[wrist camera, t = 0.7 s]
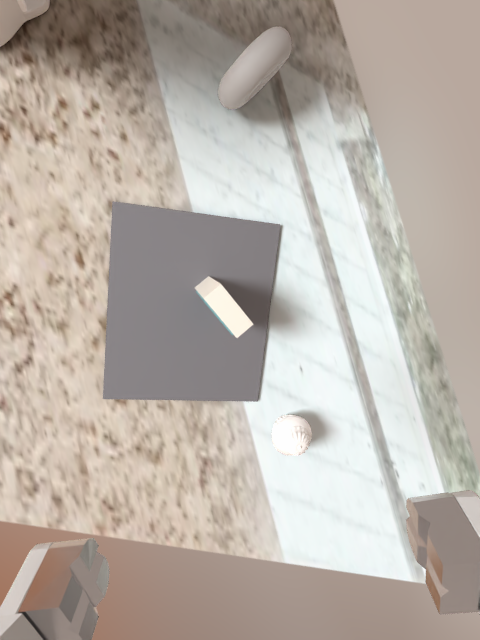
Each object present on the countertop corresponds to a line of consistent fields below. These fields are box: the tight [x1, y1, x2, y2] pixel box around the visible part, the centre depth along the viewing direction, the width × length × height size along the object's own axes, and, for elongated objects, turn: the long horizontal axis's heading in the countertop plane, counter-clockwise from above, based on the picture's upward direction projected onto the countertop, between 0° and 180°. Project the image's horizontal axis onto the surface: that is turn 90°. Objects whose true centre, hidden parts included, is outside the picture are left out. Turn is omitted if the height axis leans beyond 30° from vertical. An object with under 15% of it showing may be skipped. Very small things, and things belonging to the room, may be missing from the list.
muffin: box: [272, 415, 312, 456], centre depth 54 cm, size 6×6×7 cm
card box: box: [195, 276, 253, 338], centre depth 46 cm, size 6×3×10 cm, turn 39°
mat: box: [103, 202, 280, 401], centre depth 50 cm, size 26×22×1 cm
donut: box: [218, 26, 292, 110], centre depth 42 cm, size 10×4×10 cm, turn 133°
